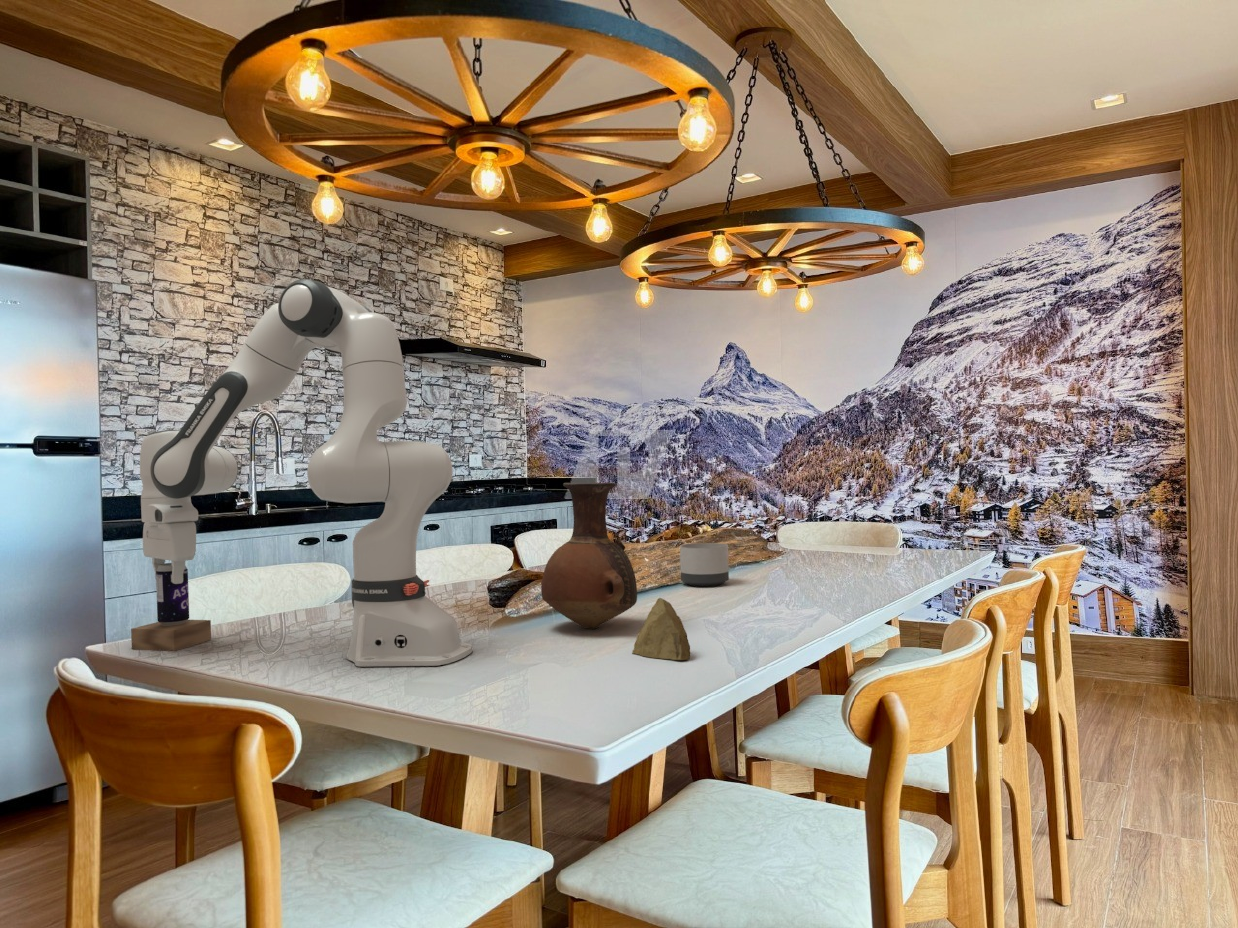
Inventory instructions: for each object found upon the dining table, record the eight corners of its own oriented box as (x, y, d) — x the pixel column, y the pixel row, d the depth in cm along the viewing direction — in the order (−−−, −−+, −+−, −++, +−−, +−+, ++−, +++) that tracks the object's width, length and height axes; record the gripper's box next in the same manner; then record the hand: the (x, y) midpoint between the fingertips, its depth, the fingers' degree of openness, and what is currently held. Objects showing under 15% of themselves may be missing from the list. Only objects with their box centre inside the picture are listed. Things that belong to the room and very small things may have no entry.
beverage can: (174, 626, 171) (172, 565, 171) (150, 626, 172) (148, 565, 172) (195, 621, 176) (194, 562, 176) (172, 620, 178) (170, 562, 178)
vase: (665, 629, 175) (661, 480, 175) (582, 644, 164) (577, 485, 164) (597, 613, 196) (593, 479, 195) (518, 625, 184) (514, 483, 184)
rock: (708, 646, 149) (688, 628, 159) (680, 610, 147) (662, 593, 156) (659, 688, 148) (642, 666, 157) (630, 651, 145) (615, 632, 155)
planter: (678, 588, 229) (677, 548, 229) (683, 580, 242) (682, 543, 241) (727, 588, 227) (726, 547, 227) (729, 580, 239) (728, 542, 239)
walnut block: (211, 639, 178) (210, 620, 177) (174, 650, 168) (173, 630, 168) (170, 638, 180) (169, 618, 180) (131, 649, 170) (131, 628, 170)
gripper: (133, 512, 178) (135, 579, 178) (166, 513, 164) (168, 587, 164) (166, 510, 183) (168, 576, 183) (201, 511, 168) (204, 583, 168)
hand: (169, 581), depth 173 cm, fingers open, 8 cm apart
